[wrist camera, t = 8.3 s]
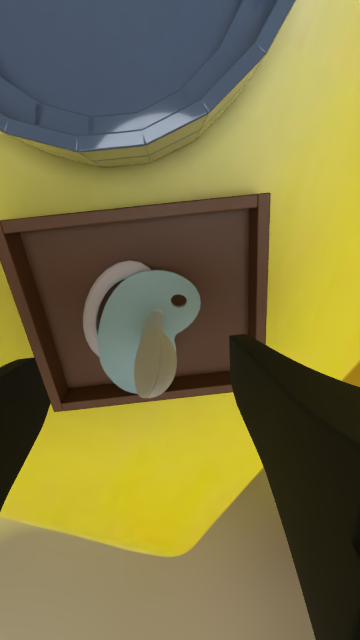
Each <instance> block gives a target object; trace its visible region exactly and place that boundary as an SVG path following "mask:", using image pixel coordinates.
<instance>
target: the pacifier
mask: <svg viewBox="0 0 360 640" xmlns="http://www.w3.org/2000/svg"><path fill="white" fill-rule="evenodd" d="M123 279H125V280H124V281H123V282H121V283H120V284H119V286H118V287H117V288H116V289H115V290H114V291H113V293H112V294H111V296H110V297H109V299H108V301H107V303H106V305H105V308H104V310H103V313H102V316H101V320H100V325H99V311H100V306H101V303H102V301H103V298H104V296H105V294H106V293H107V291H108V290H109V289H110V288H111V287H112V286H113V285H114V284H116V283H117V282H119V281H121V280H123ZM176 294H180V295H183V296H184V297H185V298H186V303H185V304H184V305H181V306H177V305H174V304H173V303H172V302H171V298H172V296H174V295H176ZM200 304H201V301H200V295H199V293H198V291H197V289H196V287H195V286H194V285H193V284H192V283H191V282H190V281H189V280H188V279H186V278H185V277H183V276H181V275H179V274H177V273H174V272H170V271H165V270H151V269H150V268H149V267H147V266H146V265H144V264H143V263H141V262H137V261H131V260H128V261H123V262H118V263H116V264H115V265H113V266H111V267H109V268H107V269H106V270H105V271H104V272H103V273H102V274H101V275H100V276H99V277H98V278H97V280H96V281H95V283H94V284H93V286H92V287H91V289H90V291H89V294H88V296H87V299H86V301H85V306H84V312H83V330H84V333H85V337H86V341H87V343H88V344H89V346H90V348H91V350H92V351H93V352H94V353H95V354H96V355H97V356H98V357H99V358H100V363H101V365H102V367H103V370H104V371H105V373H106V374H107V376H108V377H109V378H110V379H111V380H112V381H113V383H115V384H116V385H117V386H118V387H119V388H121V389H123V390H125V391H127V392H131V393H136V394H138V395H139V396H140V397H141V398H153V397H156V396H158V395H160V394H162V393H163V392H164V391H165V390H166V389H167V388H168V387H169V386H170V384H171V383H172V381H173V379H174V376H175V373H176V368H177V357H176V345H175V342H174V339H175V336H176V334H177V333H179V332H181V331H183V330H184V329H185V328H187V327H188V326H189V325H190V324H191V323H192V322H193V321H194V319H195V318H196V316H197V314H198V312H199V310H200Z"/></svg>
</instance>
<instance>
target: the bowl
mask: <svg viewBox="0 0 360 640" xmlns="http://www.w3.org/2000/svg"><path fill="white" fill-rule="evenodd" d="M295 1H296V0H0V131H2V132H3V133H5V134H7V135H10V136H12V137H14V138H16V139H19V140H21V141H23V142H25V143H28V144H30V145H32V146H34V147H36V148H39V149H41V150H43V151H45V152H48V153H50V154H52V155H55V156H59V157H63V158H67V159H71V160H75V161H79V162H83V163H87V164H91V165H95V166H99V167H111V166H120V165H130V164H140V163H149V162H150V161H151V162H153V161H155V160H157V159H159V158H161V157H163V156H165V155H167V154H169V153H171V152H173V151H175V150H177V149H179V148H181V147H183V146H185V145H187V144H189V143H191V142H193V141H195V139H197V138H198V137H199V136H200V135H201V134H202V133H203V132H204V131H205V130H206V129H207V128H208V127H209V126H210V125H211V124H212V123H213V122H214V121H215V120H216V119H217V118H218V117H219V116H220V115H221V114H222V113H223V112H224V111H225V110H226V109H227V108H228V107H229V106H230V105H231V104H232V103H233V102H234V101H235V99H236V98H237V96H238V95H239V93H240V92H241V90H242V89H243V87H244V86H245V84H246V83H247V82H248V80H249V79H250V77H251V76H252V74H253V73H254V71H255V70H256V68H257V67H258V66H259V64H260V63H261V61H262V60H263V58H264V57H265V55H266V54H267V52H268V50H269V48H270V46H271V45H272V43H273V41H274V39H275V37H276V35H277V34H278V32H279V30H280V28H281V26H282V25H283V23H284V21H285V19H286V17H287V15H288V14H289V12H290V10H291V8H292V6H293V4H294V3H295Z"/></svg>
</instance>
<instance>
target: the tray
mask: <svg viewBox="0 0 360 640" xmlns="http://www.w3.org/2000/svg"><path fill="white" fill-rule="evenodd" d="M269 224H270V193H261V194H251V195H241V196H232V197H222V198H212V199H203V200H193V201H183V202H174V203H164V204H154V205H145V206H135V207H125V208H116V209H106V210H96V211H87V212H77V213H68V214H58V215H48V216H39V217H29V218H19V219H10V220H0V261H1V264H2V267H3V270H4V272H5V275H6V278H7V281H8V284H9V286H10V289H11V292H12V295H13V298H14V300H15V303H16V306H17V309H18V312H19V315H20V317H21V320H22V323H23V326H24V329H25V331H26V334H27V337H28V340H29V343H30V345H31V348H32V351H33V354H34V357H35V359H36V362H37V365H38V368H39V371H40V373H41V376H42V379H43V382H44V385H45V387H46V390H47V393H48V396H49V399H50V401H51V405H52V407H53V410H54V412H59V411H63V410H64V411H69V410H78V409H86V408H95V407H104V406H113V405H122V404H131V403H140V402H149V401H158V400H166V399H175V398H184V397H193V396H202V395H211V394H220V393H229V392H233V389H232V385H231V382H230V349H229V336H231V335H240V334H247V335H249V336H251V337H253V338H254V339H256V340H258V341H260V342H261V343H263V344H266V314H267V284H268V254H269ZM128 260H131V261H137V262H141V263H143V264H144V265H146V266H147V267H149V268H150V269H151V270H165V271H170V272H174V273H177V274H179V275H181V276H183V277H185V278H186V279H188V280H189V281H190V282H191V283H192V284H193V285H194V286H195V287H196V289H197V291H198V293H199V295H200V301H201V304H200V310H199V312H198V314H197V316H196V318H195V319H194V321H193V322H192V323H191V324H190V325H189V326H188V327H187V328H185V329H184V330H183V331H181V332H179V333H177V334H176V336H175V339H174V342H175V345H176V357H177V368H176V373H175V376H174V379H173V381H172V383H171V384H170V386H169V387H168V388H167V389H166V390H165V391H164V392H163V393H162V394H160V395H158V396H156V397H153V398H141V397H140V396H139V395H138V394H136V393H131V392H127V391H125V390H123V389H121V388H119V387H118V386H117V385H116V384H115V383H113V381H112V380H111V379H110V378H109V377H108V376H107V374H106V373H105V371H104V370H103V367H102V365H101V363H100V358H99V357H98V356H97V355H96V354H95V353H94V352H93V351H92V350H91V348H90V346H89V344H88V343H87V341H86V337H85V333H84V330H83V312H84V306H85V301H86V299H87V296H88V294H89V291H90V289H91V287H92V286H93V284H94V283H95V281H96V280H97V278H98V277H99V276H100V275H101V274H102V273H103V272H104V271H105V270H106V269H107V268H109V267H111V266H113V265H115V264H116V263H118V262H123V261H128ZM124 280H125V279H123V280H121V281H119V282H117V283H116V284H114V285H113V286H112V287H111V288H110V289H109V290H108V291H107V293H106V294H105V296H104V298H103V301H102V303H101V306H100V311H99V325H100V320H101V316H102V313H103V310H104V308H105V305H106V303H107V301H108V299H109V297H110V296H111V294H112V293H113V291H114V290H115V289H116V288H117V287H118V286H119V284H120V283H121V282H123V281H124ZM171 302H172V303H173V304H174V305H177V306H181V305H184V304H185V303H186V298H185V297H184V296H183V295H180V294H176V295H174V296H172V298H171Z"/></svg>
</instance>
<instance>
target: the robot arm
mask: <svg viewBox="0 0 360 640" xmlns="http://www.w3.org/2000/svg"><path fill="white" fill-rule="evenodd" d="M229 349H230V382H231V385H232V389H233V393H234V396H235V399H236V403H237V406H238V408H239V410H240V413H241V415H242V417H243V420H244V422H245V424H246V427H247V429H248V431H249V433H250V436H251V438H252V440H253V443H254V445H255V447H256V449H257V452H258V454H259V456H260V459H261V461H262V464H263V466H264V469H265V472H266V474H267V478H268V481H269V484H270V487H271V490H272V493H273V496H274V499H275V502H276V505H277V509H278V511H279V515H280V518H281V521H282V525H283V528H284V531H285V534H286V537H287V541H288V544H289V548H290V551H291V554H292V558H293V561H294V564H295V568H296V571H297V574H298V578H299V581H300V585H301V588H302V592H303V596H304V599H305V603H306V606H307V610H308V613H309V617H310V621H311V624H312V628H313V631H314V635H315V639H316V640H360V387H357V386H354V385H351V384H348V383H345V382H343V381H340V380H337V379H335V378H332V377H330V376H327V375H325V374H322V373H320V372H317V371H315V370H313V369H310V368H308V367H306V366H304V365H302V364H300V363H298V362H296V361H294V360H292V359H290V358H288V357H286V356H284V355H282V354H281V353H279V352H277V351H275V350H273V349H272V348H270V347H268V346H266V345H265V344H263V343H261V342H260V341H258V340H256V339H254V338H253V337H251V336H249V335H247V334H240V335H231V336H229ZM50 403H51V401H50V399H49V396H48V393H47V390H46V387H45V385H44V382H43V379H42V376H41V373H40V371H39V368H38V365H37V362H36V359H35V358H26V359H18V360H15V361H13V362H11V363H8V364H6V365H4V366H2V367H0V511H1V509H2V506H3V504H4V502H5V499H6V497H7V495H8V493H9V491H10V489H11V487H12V485H13V483H14V481H15V479H16V477H17V475H18V473H19V471H20V470H21V468H22V466H23V464H24V462H25V460H26V458H27V456H28V454H29V452H30V450H31V448H32V446H33V444H34V442H35V440H36V439H37V437H38V435H39V433H40V430H41V428H42V426H43V423H44V421H45V418H46V415H47V412H48V409H49V406H50Z"/></svg>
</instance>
